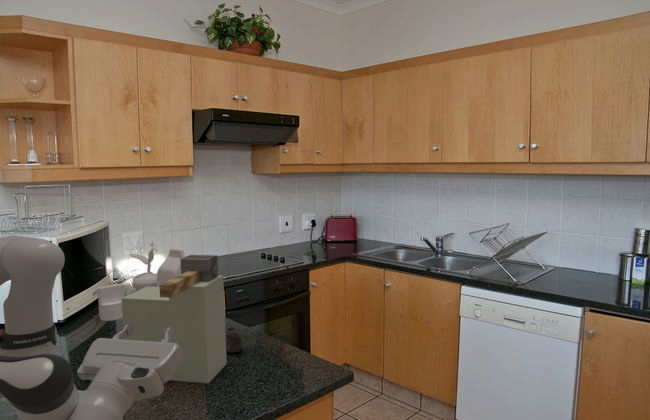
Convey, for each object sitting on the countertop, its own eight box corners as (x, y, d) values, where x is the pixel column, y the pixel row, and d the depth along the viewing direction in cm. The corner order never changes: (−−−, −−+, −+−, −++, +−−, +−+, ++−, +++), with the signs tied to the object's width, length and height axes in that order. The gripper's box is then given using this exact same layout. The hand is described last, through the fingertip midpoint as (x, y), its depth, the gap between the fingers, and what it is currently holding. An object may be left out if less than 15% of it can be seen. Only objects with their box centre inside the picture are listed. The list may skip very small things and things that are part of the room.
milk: (156, 319, 174) (153, 250, 171) (181, 311, 183) (178, 245, 181) (178, 325, 167) (174, 254, 165) (202, 316, 177) (199, 248, 174)
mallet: (181, 298, 110) (179, 273, 110) (150, 296, 112) (149, 272, 111) (218, 276, 131) (217, 255, 130) (191, 275, 133) (190, 254, 132)
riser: (208, 383, 123) (204, 287, 120) (126, 376, 128) (120, 283, 125) (226, 364, 134) (223, 275, 132) (151, 358, 139) (146, 273, 136)
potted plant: (167, 295, 206) (164, 239, 203) (155, 303, 194) (151, 243, 192) (140, 294, 207) (136, 239, 205) (126, 302, 196) (122, 243, 193)
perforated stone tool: (219, 340, 153) (218, 319, 152) (235, 337, 155) (234, 317, 154) (225, 357, 139) (224, 335, 138) (243, 355, 141) (242, 332, 140)
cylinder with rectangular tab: (103, 322, 172) (101, 290, 170) (96, 316, 179) (94, 285, 177) (128, 317, 177) (126, 286, 176) (121, 311, 184) (119, 281, 183)
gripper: (79, 387, 98) (113, 334, 109) (168, 395, 94) (195, 339, 104) (66, 368, 94) (103, 316, 105) (158, 376, 90) (187, 320, 101)
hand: (149, 327), depth 105 cm, fingers open, 8 cm apart
